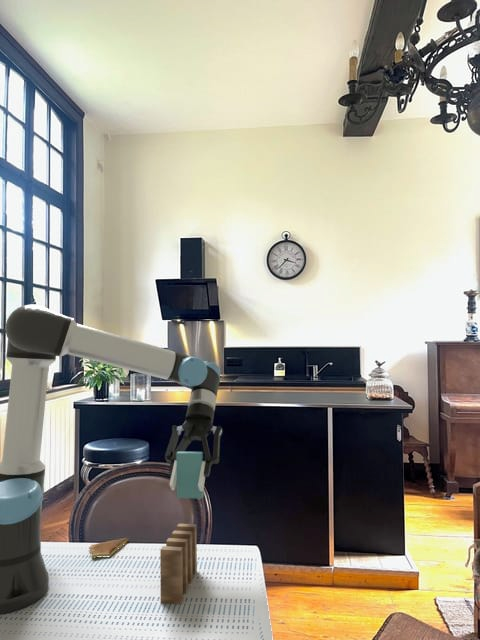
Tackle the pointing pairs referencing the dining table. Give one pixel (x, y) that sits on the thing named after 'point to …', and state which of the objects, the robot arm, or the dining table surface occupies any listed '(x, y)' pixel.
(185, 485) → the domino
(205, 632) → the dining table surface
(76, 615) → the dining table surface
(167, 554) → the domino
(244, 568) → the dining table surface
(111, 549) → the shard
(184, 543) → the domino
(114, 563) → the dining table surface
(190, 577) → the domino
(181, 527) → the domino
